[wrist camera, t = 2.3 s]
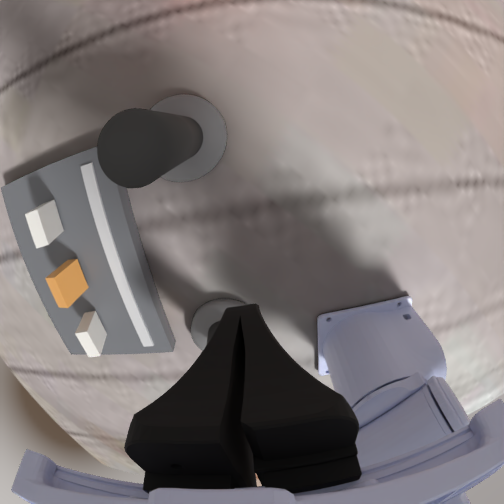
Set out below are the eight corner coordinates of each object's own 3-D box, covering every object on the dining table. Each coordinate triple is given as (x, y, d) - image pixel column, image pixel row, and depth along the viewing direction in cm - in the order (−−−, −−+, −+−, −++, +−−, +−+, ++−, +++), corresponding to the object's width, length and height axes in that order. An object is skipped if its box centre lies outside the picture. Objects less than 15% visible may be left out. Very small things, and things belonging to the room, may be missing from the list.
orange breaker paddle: (77, 258, 20) (54, 277, 17) (88, 287, 21) (68, 308, 18) (67, 259, 20) (45, 278, 17) (79, 287, 21) (58, 307, 18)
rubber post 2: (254, 293, 24) (263, 389, 15) (264, 346, 26) (273, 438, 17) (184, 303, 24) (160, 396, 15) (201, 354, 26) (190, 443, 17)
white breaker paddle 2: (95, 310, 22) (87, 331, 19) (107, 334, 23) (100, 355, 20) (84, 312, 22) (75, 333, 19) (96, 335, 23) (88, 357, 20)
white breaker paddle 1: (54, 199, 18) (37, 209, 15) (63, 230, 19) (48, 244, 16) (42, 203, 18) (24, 214, 15) (52, 234, 19) (36, 248, 16)
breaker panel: (116, 141, 18) (106, 143, 17) (175, 340, 26) (172, 353, 24) (10, 183, 19) (-1, 188, 17) (76, 345, 26) (70, 355, 24)
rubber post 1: (219, 87, 17) (199, 51, 8) (233, 170, 20) (226, 210, 11) (136, 107, 17) (56, 100, 8) (152, 186, 20) (87, 237, 11)
